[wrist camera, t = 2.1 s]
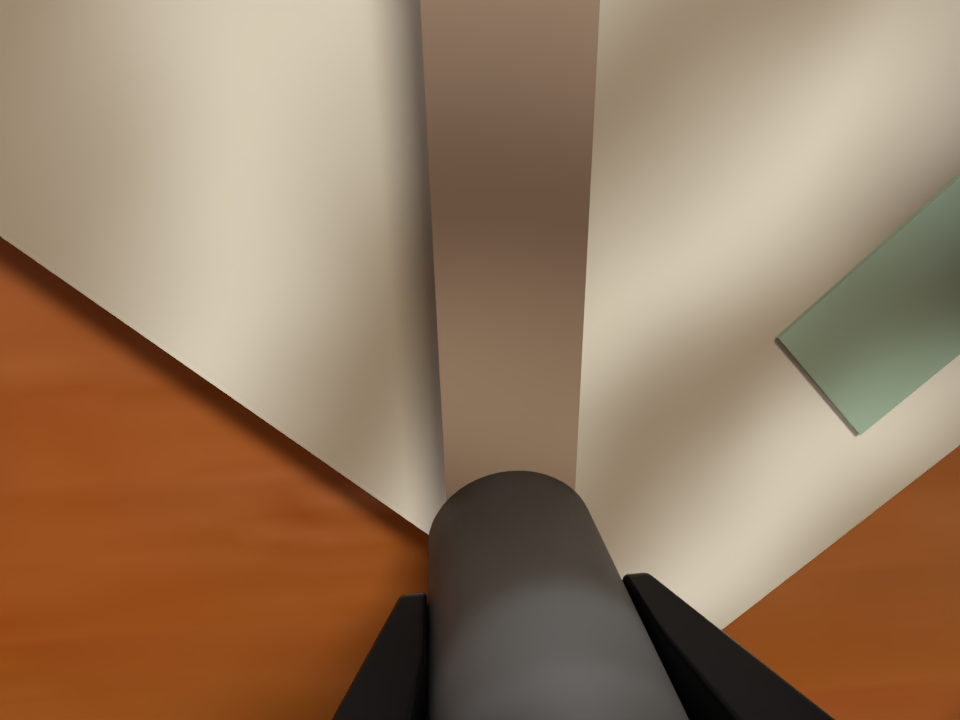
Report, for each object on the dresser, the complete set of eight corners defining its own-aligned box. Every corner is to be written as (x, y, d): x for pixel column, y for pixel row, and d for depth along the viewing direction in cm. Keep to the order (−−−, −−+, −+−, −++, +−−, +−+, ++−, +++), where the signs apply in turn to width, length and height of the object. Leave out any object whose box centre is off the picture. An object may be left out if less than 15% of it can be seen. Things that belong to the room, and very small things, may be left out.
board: (1167, 207, 12) (1267, 212, 11) (628, 642, 16) (648, 690, 14) (525, -1282, 6) (560, -1818, 4) (-194, 45, 9) (-319, 18, 7)
